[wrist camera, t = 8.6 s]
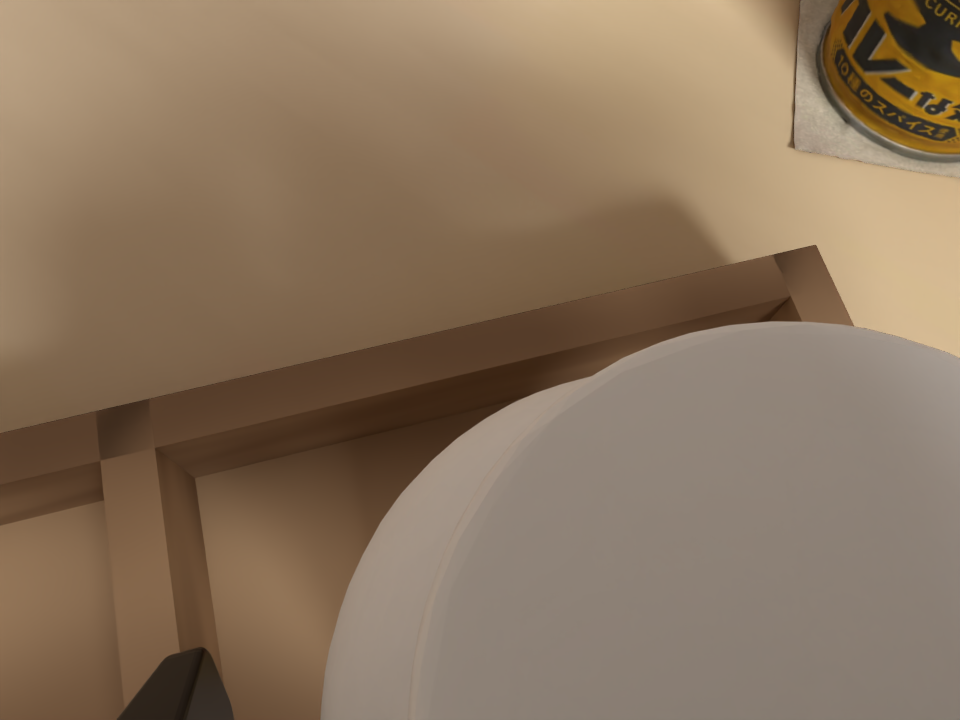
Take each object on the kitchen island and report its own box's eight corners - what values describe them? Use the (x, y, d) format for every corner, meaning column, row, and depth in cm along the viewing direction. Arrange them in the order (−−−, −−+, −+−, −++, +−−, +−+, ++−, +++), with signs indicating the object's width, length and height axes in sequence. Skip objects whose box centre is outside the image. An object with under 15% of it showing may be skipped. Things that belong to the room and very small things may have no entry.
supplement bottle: (716, 921, 15) (1856, 2000, 3) (360, 853, 15) (-36, 1567, 3) (734, 553, 17) (1370, 266, 5) (429, 501, 17) (361, 112, 5)
